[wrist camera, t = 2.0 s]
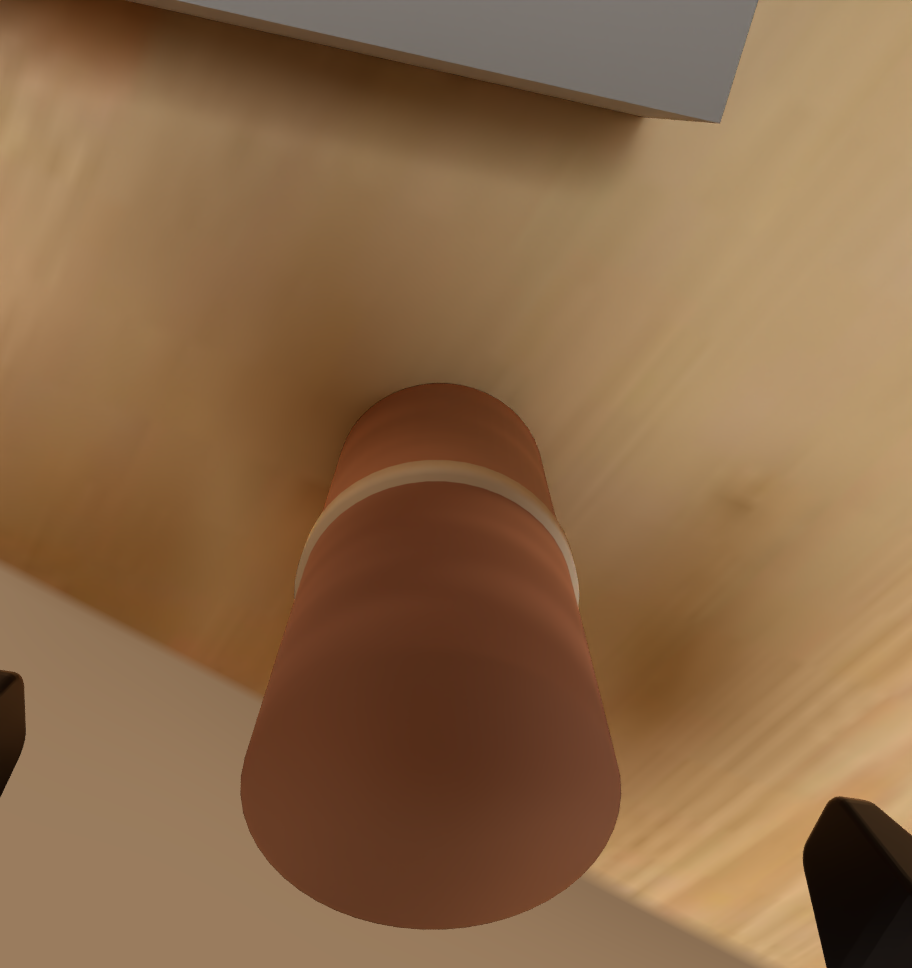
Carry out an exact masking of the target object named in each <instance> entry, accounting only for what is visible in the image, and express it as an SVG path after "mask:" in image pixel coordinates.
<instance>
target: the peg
mask: <svg viewBox="0 0 912 968" xmlns="http://www.w3.org/2000/svg"><path fill="white" fill-rule="evenodd" d="M294 599H295V600H294V604H293V607H292V610H291V613H290V616H289V619H288V623H287V626H286V629H285V632H284V635H283V638H282V642H281V645H280V648H279V651H278V654H277V658H276V661H275V664H274V667H273V670H272V673H271V677H270V680H269V683H268V686H267V689H266V692H265V696H264V699H263V702H262V705H261V708H260V712H259V715H258V718H257V721H256V724H255V728H254V731H253V734H252V737H251V740H250V743H249V746H248V750H247V753H246V756H245V760H244V765H243V769H242V774H241V800H242V807H243V813H244V816H245V819H246V822H247V825H248V828H249V831H250V833H251V835H252V837H253V839H254V841H255V843H256V844H257V846H258V848H259V849H260V851H261V852H262V853H263V855H264V856H265V857H266V859H267V860H268V861H269V863H270V864H271V865H272V866H273V867H274V868H275V869H276V870H277V871H278V872H279V873H280V874H281V875H282V876H283V877H284V878H285V879H286V880H287V881H289V882H290V883H291V884H292V885H294V886H295V887H296V888H297V889H299V890H300V891H302V892H303V893H305V894H306V895H308V896H310V897H311V898H313V899H314V900H316V901H318V902H320V903H322V904H324V905H326V906H328V907H330V908H332V909H334V910H336V911H339V912H341V913H344V914H347V915H350V916H352V917H355V918H358V919H362V920H365V921H369V922H373V923H377V924H382V925H388V926H393V927H400V928H411V929H453V928H465V927H471V926H477V925H482V924H488V923H492V922H495V921H499V920H503V919H506V918H509V917H512V916H515V915H517V914H520V913H522V912H525V911H528V910H530V909H532V908H534V907H536V906H538V905H540V904H542V903H544V902H546V901H548V900H549V899H551V898H553V897H554V896H556V895H557V894H559V893H561V892H562V891H563V890H565V889H567V888H568V887H569V886H570V885H571V884H573V883H574V882H575V881H576V880H577V879H579V878H580V877H581V876H582V875H583V874H584V873H585V872H586V871H587V870H588V868H589V867H590V866H591V865H592V864H593V863H594V862H595V861H596V859H597V858H598V856H599V855H600V853H601V852H602V851H603V849H604V848H605V846H606V844H607V842H608V840H609V838H610V836H611V834H612V832H613V830H614V827H615V823H616V820H617V817H618V814H619V808H620V799H621V782H620V773H619V769H618V764H617V760H616V756H615V752H614V748H613V744H612V740H611V736H610V732H609V728H608V724H607V720H606V716H605V712H604V708H603V704H602V700H601V696H600V692H599V688H598V684H597V680H596V676H595V672H594V668H593V664H592V660H591V656H590V652H589V648H588V644H587V640H586V636H585V633H584V629H583V625H582V621H581V617H580V613H579V609H578V607H579V584H578V577H577V573H576V568H575V564H574V560H573V557H572V553H571V549H570V546H569V543H568V541H567V538H566V536H565V533H564V531H563V530H562V528H561V526H560V524H559V523H558V521H557V519H556V517H555V513H554V509H553V505H552V501H551V497H550V493H549V489H548V485H547V481H546V477H545V473H544V469H543V465H542V461H541V457H540V453H539V450H538V447H537V445H536V442H535V440H534V438H533V436H532V434H531V433H530V431H529V429H528V428H527V426H526V425H525V424H524V422H523V421H522V420H521V419H520V417H519V416H518V415H517V414H515V413H514V412H513V411H512V410H511V409H510V408H509V407H508V406H506V405H505V404H504V403H502V402H501V401H500V400H498V399H496V398H494V397H492V396H491V395H489V394H487V393H484V392H482V391H479V390H477V389H474V388H470V387H466V386H462V385H456V384H448V383H432V384H424V385H417V386H413V387H410V388H406V389H403V390H400V391H398V392H395V393H393V394H391V395H389V396H387V397H386V398H384V399H382V400H380V401H379V402H378V403H376V404H375V405H374V406H372V407H371V408H370V409H369V410H368V411H367V412H366V413H365V414H364V415H363V416H361V417H360V419H359V420H358V421H357V423H356V424H355V425H354V427H353V428H352V430H351V431H350V433H349V435H348V437H347V438H346V441H345V443H344V446H343V448H342V451H341V454H340V457H339V461H338V464H337V467H336V470H335V473H334V477H333V480H332V483H331V486H330V489H329V492H328V496H327V499H326V502H325V505H324V508H323V511H322V514H321V515H320V516H319V517H318V519H317V521H316V522H315V524H314V526H313V528H312V529H311V531H310V533H309V536H308V538H307V541H306V544H305V546H304V549H303V552H302V555H301V558H300V561H299V564H298V569H297V573H296V578H295V590H294Z"/></svg>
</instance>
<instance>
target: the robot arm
mask: <svg viewBox="0 0 912 968" xmlns="http://www.w3.org/2000/svg"><path fill="white" fill-rule="evenodd" d="M25 735H26V727H25V700H24V683H23V679H22V677H21V676H20V675H19V674H17V673H15V672H10V671H3V670H0V796H1V795H2V793H3V791H4V788H5V786H6V784H7V782H8V780H9V778H10V776H11V774H12V771H13V769H14V767H15V765H16V763H17V761H18V758H19V756H20V754H21V751H22V748H23V745H24V741H25ZM803 866H804V872H805V876H806V880H807V885H808V889H809V893H810V898H811V902H812V906H813V911H814V915H815V919H816V924H817V928H818V932H819V937H820V941H821V945H822V950H823V954H824V958H825V963H826V967H827V968H912V835H911V834H909V833H908V832H907V831H906V830H905V829H903V828H902V827H901V826H900V825H899V824H898V823H896V822H895V821H894V820H893V819H892V818H890V817H889V816H888V815H887V814H886V813H884V812H883V811H882V810H881V809H880V808H879V807H877V806H876V805H875V804H873V803H871V802H869V801H866V800H861V799H854V798H848V797H840V796H839V797H834V798H833V799H831V800H830V801H829V802H828V803H827V805H826V806H825V808H824V810H823V812H822V814H821V816H820V817H819V819H818V821H817V823H816V825H815V827H814V828H813V830H812V832H811V834H810V836H809V838H808V839H807V841H806V844H805V847H804V851H803Z"/></svg>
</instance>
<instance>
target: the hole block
mask: <svg viewBox="0 0 912 968" xmlns="http://www.w3.org/2000/svg"><path fill="white" fill-rule="evenodd" d="M126 1H131V2H135V3H139V4H144V5H148V6H153V7H157V8H162V9H166V10H171V11H175V12H179V13H184V14H188V15H193V16H197V17H202V18H206V19H211V20H215V21H219V22H224V23H228V24H233V25H237V26H242V27H246V28H250V29H255V30H259V31H264V32H268V33H273V34H277V35H282V36H286V37H290V38H295V39H299V40H304V41H308V42H313V43H317V44H322V45H326V46H330V47H335V48H339V49H344V50H348V51H353V52H357V53H361V54H366V55H370V56H375V57H379V58H384V59H388V60H393V61H397V62H401V63H406V64H410V65H415V66H419V67H424V68H428V69H432V70H437V71H441V72H446V73H450V74H455V75H459V76H464V77H468V78H472V79H477V80H481V81H486V82H490V83H495V84H499V85H504V86H508V87H512V88H517V89H521V90H526V91H530V92H535V93H539V94H543V95H548V96H552V97H557V98H561V99H566V100H570V101H575V102H579V103H583V104H588V105H592V106H597V107H601V108H606V109H610V110H614V111H619V112H623V113H628V114H632V115H637V116H641V117H647V118H659V119H672V120H684V121H697V122H709V123H720V121H721V118H722V115H723V112H724V109H725V105H726V102H727V99H728V96H729V93H730V89H731V86H732V83H733V80H734V77H735V73H736V70H737V67H738V64H739V60H740V57H741V54H742V51H743V48H744V44H745V41H746V38H747V35H748V32H749V28H750V25H751V22H752V19H753V15H754V12H755V9H756V6H757V3H758V0H126Z"/></svg>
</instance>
